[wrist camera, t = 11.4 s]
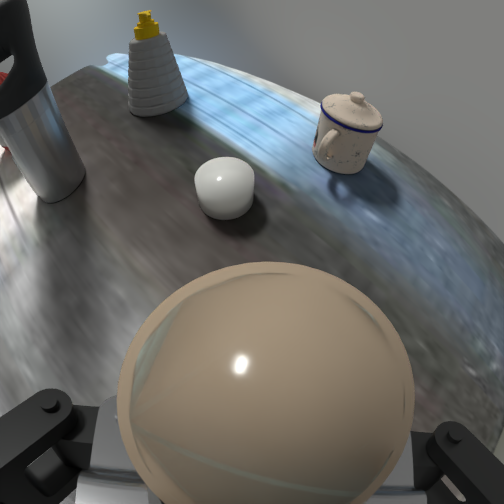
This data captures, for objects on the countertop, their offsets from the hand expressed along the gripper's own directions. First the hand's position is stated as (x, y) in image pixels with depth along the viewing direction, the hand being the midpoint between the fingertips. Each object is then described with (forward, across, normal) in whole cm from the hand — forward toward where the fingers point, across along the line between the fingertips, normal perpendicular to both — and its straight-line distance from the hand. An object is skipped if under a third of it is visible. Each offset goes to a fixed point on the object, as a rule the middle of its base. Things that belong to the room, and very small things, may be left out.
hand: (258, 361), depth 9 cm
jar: (+2, 0, +4) cm, 5 cm away
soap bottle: (+45, +23, -21) cm, 55 cm away
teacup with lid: (+35, -10, -10) cm, 38 cm away
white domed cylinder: (+28, +5, -3) cm, 28 cm away
